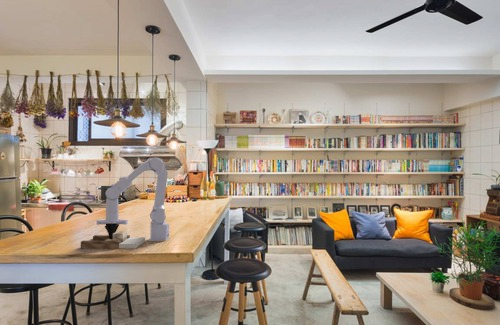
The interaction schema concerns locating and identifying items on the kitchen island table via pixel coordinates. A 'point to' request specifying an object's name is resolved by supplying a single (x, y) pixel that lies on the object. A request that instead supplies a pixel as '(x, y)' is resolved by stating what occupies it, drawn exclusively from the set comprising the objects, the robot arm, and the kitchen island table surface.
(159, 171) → the robot arm
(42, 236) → the kitchen island table surface
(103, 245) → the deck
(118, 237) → the cube
